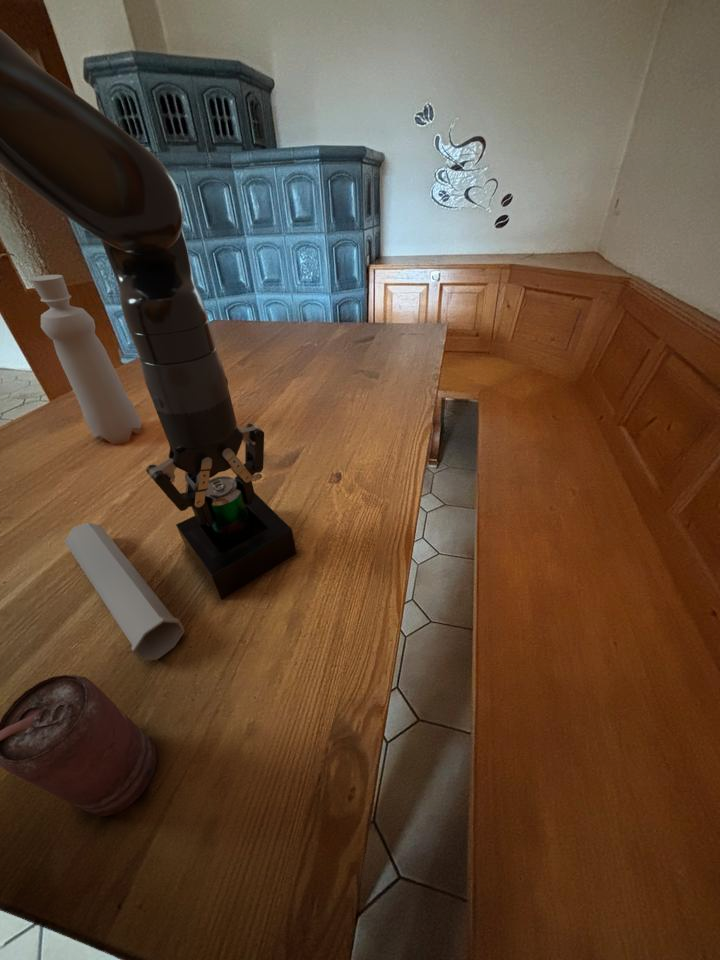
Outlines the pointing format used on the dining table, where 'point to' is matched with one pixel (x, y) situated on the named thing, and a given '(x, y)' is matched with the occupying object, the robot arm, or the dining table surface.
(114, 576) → the tube
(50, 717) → the can
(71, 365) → the bottle
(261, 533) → the holder
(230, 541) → the soda can
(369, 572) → the dining table surface
